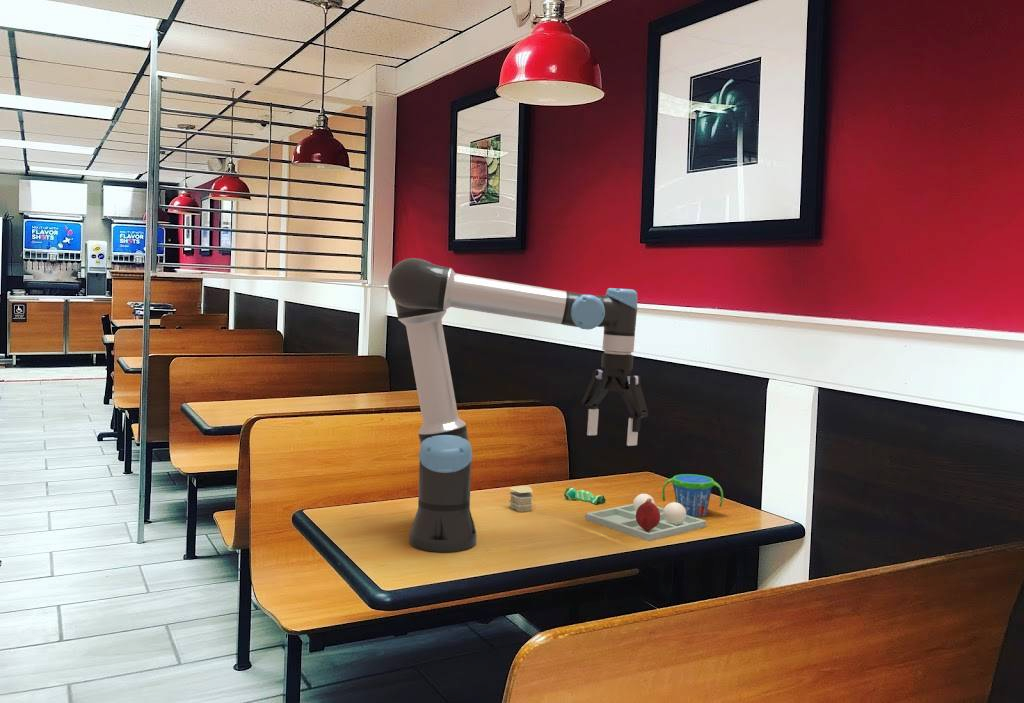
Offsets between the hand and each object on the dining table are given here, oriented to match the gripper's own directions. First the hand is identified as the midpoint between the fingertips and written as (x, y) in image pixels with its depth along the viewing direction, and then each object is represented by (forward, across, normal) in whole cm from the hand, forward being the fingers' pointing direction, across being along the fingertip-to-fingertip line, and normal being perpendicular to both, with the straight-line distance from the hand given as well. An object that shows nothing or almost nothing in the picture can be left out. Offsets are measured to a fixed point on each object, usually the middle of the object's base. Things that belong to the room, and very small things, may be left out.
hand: (611, 440), depth 203 cm
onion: (+21, -9, -5) cm, 23 cm away
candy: (+22, +21, -13) cm, 33 cm away
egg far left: (+21, +1, -15) cm, 26 cm away
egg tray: (+22, -4, -10) cm, 24 cm away
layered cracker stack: (+23, +26, +6) cm, 35 cm away
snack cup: (+22, -4, -28) cm, 36 cm away
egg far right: (+20, -9, -15) cm, 27 cm away
